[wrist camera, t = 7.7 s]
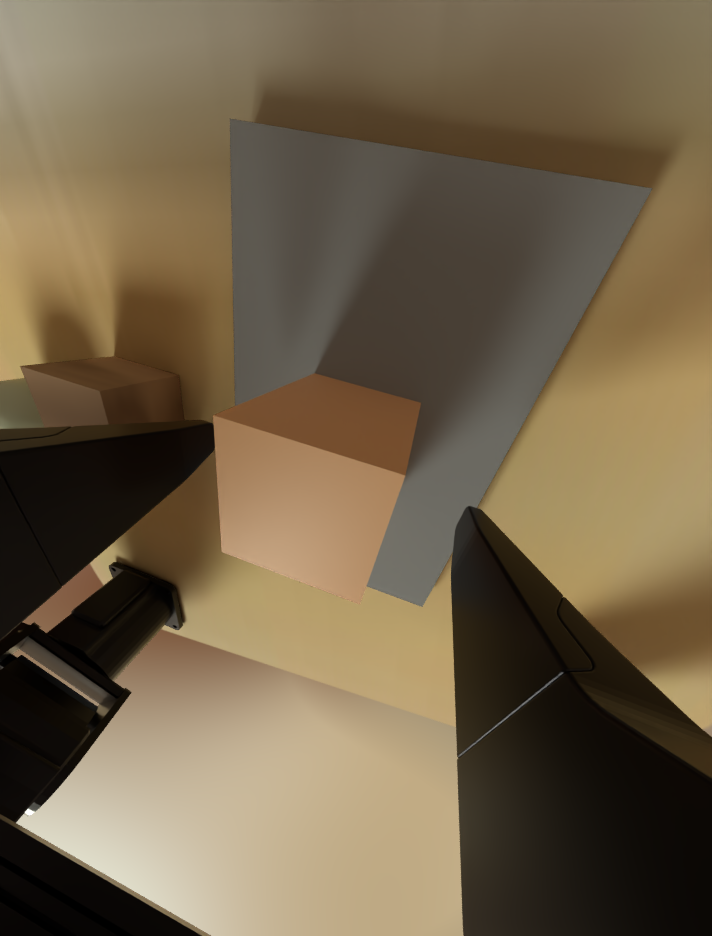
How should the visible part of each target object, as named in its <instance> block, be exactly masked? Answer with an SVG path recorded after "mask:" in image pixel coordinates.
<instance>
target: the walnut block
mask: <svg viewBox="0 0 712 936" xmlns="http://www.w3.org/2000/svg"><path fill="white" fill-rule="evenodd" d="M20 367H21V370H22V372H23V375H24V377H25V380H26V382H27V385H28V387H29V390H30V392H31V395H32V397H33V400H34V402H35V405H36V407H37V410H38V412H39V415H40V417H41V420H42V422H43V425H44V427H64V426H71V427H73V426H85V425H106V424H127V423H148V422H169V421H184V413H183V405H182V397H181V389H180V381H179V375H176V374H173V373H169V372H166V371H163V370H159V369H156V368H152V367H149V366H145V365H142V364H139V363H135V362H132V361H128V360H125V359H121V358H118V357H115V356H113V357H104V358H94V359H84V360H75V361H65V362H55V363H45V364H36V365H26V366H20Z"/></svg>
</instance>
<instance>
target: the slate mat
mask: <svg viewBox="0 0 712 936" xmlns="http://www.w3.org/2000/svg"><path fill="white" fill-rule="evenodd" d="M230 154H231V209H232V264H233V318H234V373H235V406H237V405H239V404H242V403H244V402H246V401H249V400H251V399H254V398H256V397H258V396H261V395H263V394H266V393H268V392H270V391H273V390H275V389H278V388H280V387H283V386H285V385H287V384H290V383H292V382H295V381H297V380H299V379H302V378H304V377H307V376H309V375H311V374H314V373H315V374H319V375H323V376H326V377H330V378H333V379H337V380H341V381H344V382H348V383H351V384H355V385H359V386H362V387H366V388H369V389H373V390H377V391H380V392H384V393H387V394H391V395H395V396H398V397H402V398H405V399H409V400H413V401H416V402H420V403H421V405H420V410H419V415H418V419H417V424H416V429H415V433H414V438H413V442H412V447H411V452H410V456H409V461H408V466H407V470H406V475H405V478H404V481H403V484H402V487H401V489H400V492H399V495H398V498H397V501H396V504H395V507H394V509H393V512H392V515H391V518H390V521H389V524H388V526H387V529H386V532H385V535H384V538H383V541H382V544H381V546H380V549H379V552H378V555H377V558H376V561H375V563H374V566H373V569H372V572H371V575H370V578H369V581H368V583H367V586H368V587H370V588H373V589H376V590H378V591H381V592H384V593H386V594H389V595H392V596H394V597H397V598H400V599H402V600H405V601H408V602H411V603H413V604H416V605H419V606H421V607H423V605H424V603H425V601H426V599H427V597H428V596H429V594H430V592H431V590H432V588H433V587H434V585H435V583H436V581H437V579H438V577H439V576H440V574H441V572H442V570H443V568H444V567H445V565H446V563H447V561H448V559H449V557H450V556H451V554H452V552H453V545H454V534H455V528H456V525H457V523H458V521H459V520H460V518H461V516H462V514H463V512H464V510H465V508H466V507H467V506H472V507H475V508H477V507H478V505H479V503H480V501H481V499H482V497H483V496H484V494H485V492H486V490H487V488H488V487H489V485H490V483H491V481H492V479H493V477H494V476H495V474H496V472H497V470H498V468H499V467H500V465H501V463H502V461H503V459H504V457H505V456H506V454H507V452H508V450H509V448H510V447H511V445H512V443H513V441H514V439H515V437H516V436H517V434H518V432H519V430H520V428H521V427H522V425H523V423H524V421H525V419H526V418H527V416H528V414H529V412H530V410H531V408H532V407H533V405H534V403H535V401H536V399H537V398H538V396H539V394H540V392H541V390H542V388H543V387H544V385H545V383H546V381H547V379H548V378H549V376H550V374H551V372H552V370H553V368H554V367H555V365H556V363H557V361H558V359H559V358H560V356H561V354H562V352H563V350H564V348H565V347H566V345H567V343H568V341H569V339H570V338H571V336H572V334H573V332H574V330H575V328H576V327H577V325H578V323H579V321H580V319H581V318H582V316H583V314H584V312H585V310H586V308H587V307H588V305H589V303H590V301H591V299H592V298H593V296H594V294H595V292H596V290H597V288H598V287H599V285H600V283H601V281H602V279H603V278H604V276H605V274H606V272H607V270H608V268H609V267H610V265H611V263H612V261H613V259H614V258H615V256H616V254H617V252H618V250H619V248H620V247H621V245H622V243H623V241H624V239H625V238H626V236H627V234H628V232H629V230H630V229H631V227H632V225H633V223H634V221H635V219H636V218H637V216H638V214H639V212H640V210H641V209H642V207H643V205H644V203H645V201H646V199H647V198H648V196H649V194H650V192H651V190H652V189H653V188H647V187H641V186H635V185H629V184H623V183H617V182H611V181H605V180H599V179H592V178H586V177H580V176H574V175H568V174H562V173H556V172H550V171H544V170H538V169H532V168H526V167H520V166H514V165H508V164H502V163H496V162H490V161H483V160H477V159H471V158H465V157H459V156H453V155H447V154H441V153H435V152H429V151H423V150H417V149H411V148H405V147H399V146H393V145H387V144H381V143H374V142H368V141H362V140H356V139H350V138H344V137H338V136H332V135H326V134H320V133H314V132H308V131H302V130H296V129H290V128H284V127H278V126H272V125H266V124H259V123H253V122H247V121H241V120H235V119H230Z"/></svg>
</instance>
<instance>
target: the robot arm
mask: <svg viewBox="0 0 712 936" xmlns="http://www.w3.org/2000/svg"><path fill="white" fill-rule="evenodd" d="M214 449H215V438H214V425H213V424H212V423H210V422H207V421H204V420H190V421H169V422H148V423H127V424H106V425H85V426H73V427H71V426H64V427H40V428H9V429H0V936H211V935H209V934H207V933H205V932H204V931H202V930H200V929H198V928H197V927H195V926H193V925H191V924H190V923H188V922H186V921H185V920H183V919H181V918H179V917H178V916H176V915H174V914H172V913H171V912H169V911H167V910H166V909H164V908H162V907H160V906H159V905H157V904H155V903H153V902H152V901H150V900H148V899H146V898H145V897H143V896H141V895H139V894H138V893H136V892H134V891H132V890H131V889H129V888H127V887H126V886H124V885H122V884H120V883H119V882H117V881H115V880H114V879H112V878H110V877H108V876H107V875H105V874H103V873H101V872H100V871H98V870H96V869H94V868H93V867H91V866H89V865H88V864H86V863H84V862H82V861H81V860H79V859H77V858H75V857H74V856H72V855H70V854H68V853H67V852H65V851H63V850H61V849H60V848H58V847H56V846H55V845H53V844H51V843H49V842H48V841H46V840H44V839H42V838H41V837H39V836H37V835H35V834H34V833H32V832H30V831H29V830H27V829H25V828H23V827H22V826H20V825H18V824H16V822H17V821H18V820H19V818H20V817H21V816H22V815H23V814H25V815H27V816H30V815H32V814H33V813H34V812H35V811H36V810H37V809H39V808H40V807H41V806H42V805H43V804H44V803H45V802H46V801H47V800H48V799H49V797H50V796H51V795H52V794H53V793H54V792H55V791H56V790H57V789H58V788H59V786H60V785H61V784H62V783H63V782H64V781H65V779H66V778H67V777H68V776H69V775H70V773H71V772H72V771H73V770H74V768H75V767H76V766H77V764H78V763H79V762H80V761H81V759H82V758H83V756H84V755H85V754H86V753H87V751H88V750H89V749H90V747H91V746H92V745H93V743H94V742H95V741H96V739H97V738H98V737H99V735H100V734H101V733H102V731H103V730H104V729H105V727H106V726H107V725H108V723H109V722H110V721H111V719H112V718H113V717H114V715H115V714H116V713H117V711H118V710H119V709H120V707H121V706H122V704H123V703H124V702H125V700H126V699H127V698H128V697H129V695H130V694H131V692H130V691H129V690H128V689H126V688H125V689H124V688H122V687H121V686H119V685H118V684H116V683H115V682H114V680H115V679H116V678H117V677H118V676H119V675H120V674H121V673H122V672H123V670H124V669H125V668H126V667H127V666H128V665H129V664H130V663H131V661H132V660H133V659H134V658H135V657H136V656H137V655H138V654H139V653H140V651H141V650H142V649H143V648H144V647H145V646H146V645H147V644H148V643H149V642H150V640H151V639H152V638H153V637H154V636H155V635H156V634H157V633H158V632H159V631H160V629H161V628H162V627H163V626H164V625H166V626H169V627H171V628H173V629H176V630H179V629H180V628H181V627H182V626H183V623H182V618H181V613H180V608H179V603H178V599H177V594H176V589H175V588H174V587H173V586H172V585H171V584H168V583H166V582H163V581H161V580H158V579H156V578H154V577H151V576H149V575H146V574H144V573H141V572H139V571H136V570H134V569H132V568H129V567H127V566H124V565H122V564H119V563H117V562H113V563H112V564H111V565H109V569H110V572H111V575H112V577H113V579H111V580H110V581H109V582H108V583H106V584H105V585H104V586H103V587H101V588H100V589H99V590H97V591H96V592H95V593H94V594H92V595H91V596H90V597H88V598H87V599H86V600H85V601H84V602H82V603H81V604H80V605H78V606H77V607H76V608H75V609H73V610H72V613H71V614H70V615H69V616H68V617H66V618H65V619H64V620H63V621H61V622H60V623H59V624H58V625H56V626H55V627H54V628H53V629H51V630H50V631H49V632H48V633H45V632H44V631H42V630H41V629H40V626H39V625H37V624H36V623H32V624H31V625H28V624H25V623H22V621H24V620H25V619H26V618H27V617H28V616H29V615H31V614H32V613H33V612H34V611H35V610H36V609H37V608H39V607H40V606H41V605H42V604H43V603H44V602H46V601H47V600H48V599H49V598H50V597H51V596H53V595H54V594H55V593H56V592H57V591H58V590H59V589H61V587H62V586H63V585H65V584H66V583H67V582H68V581H69V580H71V579H72V578H73V577H74V576H75V575H76V574H78V573H79V572H80V571H81V570H82V569H83V568H84V567H86V566H87V565H88V564H89V563H90V562H92V561H93V560H94V559H95V558H96V557H97V556H98V555H100V554H101V553H102V552H103V551H104V550H105V549H107V548H108V547H109V546H110V545H111V544H112V543H114V542H115V541H116V540H117V539H118V538H119V537H120V536H122V535H123V534H124V533H125V532H126V531H127V530H129V529H130V528H131V527H132V526H133V525H134V524H136V523H137V522H138V521H139V520H140V519H141V518H142V517H144V516H145V515H146V514H147V513H148V512H149V511H151V510H152V509H153V508H154V507H155V506H156V505H158V504H159V503H160V502H161V501H162V500H163V499H165V498H166V497H167V496H168V495H169V494H170V493H171V492H173V491H174V490H175V489H176V488H177V487H178V486H180V485H181V484H182V483H183V482H184V481H185V480H186V479H187V478H188V477H189V476H190V475H191V474H192V473H193V472H194V471H195V470H196V469H197V468H198V467H199V466H200V465H201V464H202V463H203V461H204V460H205V459H206V458H207V457H208V456H209V455H210V454H211V453H212V452H213V451H214ZM451 593H452V622H453V650H454V679H455V707H456V734H457V757H458V759H457V769H458V800H459V828H460V857H461V886H462V914H463V935H464V936H712V737H711V736H710V735H709V734H707V733H706V732H705V731H704V730H702V729H701V728H700V727H699V726H698V725H697V724H696V723H694V722H693V721H692V720H691V719H690V718H689V717H688V716H687V715H686V714H685V713H684V712H682V711H681V710H680V709H679V708H678V707H677V706H676V705H675V704H674V703H673V702H672V701H671V700H670V699H669V698H668V697H667V696H666V695H664V694H663V693H662V692H661V691H660V690H659V689H658V688H657V687H656V686H655V685H654V684H653V683H652V682H651V681H650V680H649V679H648V678H647V677H645V676H644V675H643V674H642V673H641V672H640V671H639V670H638V669H637V668H636V667H635V666H634V665H633V664H632V663H631V662H630V661H629V660H628V659H626V658H625V657H624V656H623V655H622V654H621V653H620V652H619V651H618V650H617V649H616V648H615V647H614V646H613V645H612V644H611V643H610V642H609V641H608V640H607V639H606V638H605V637H604V636H603V635H601V634H600V633H599V632H598V631H597V630H596V629H595V628H594V627H593V626H592V625H591V624H590V623H589V622H588V621H587V619H586V618H585V617H584V616H583V615H582V614H581V613H580V612H579V611H578V610H577V609H576V608H575V607H574V606H573V605H572V604H571V603H570V602H569V601H568V600H567V599H566V598H565V597H563V595H562V594H561V593H560V592H559V590H558V589H557V588H556V587H555V586H554V585H553V584H552V583H551V582H550V581H549V580H548V579H547V578H546V577H545V576H544V575H543V574H542V573H541V572H540V571H539V570H538V568H537V567H536V566H535V565H534V564H533V563H532V562H531V561H530V560H529V559H528V558H527V557H526V556H525V555H524V554H523V553H522V552H521V551H520V550H519V549H518V548H517V546H516V545H515V544H514V543H513V542H512V541H511V540H510V539H509V538H508V537H507V536H506V535H505V534H504V533H503V532H502V531H501V530H500V529H499V528H498V527H497V526H496V524H495V523H494V522H493V521H492V520H491V519H490V518H489V517H488V516H487V515H486V514H485V513H484V512H483V511H482V510H481V509H478V508H475V507H472V506H467V507H466V508H465V510H464V512H463V514H462V516H461V518H460V520H459V521H458V523H457V525H456V528H455V534H454V545H453V555H452V566H451ZM562 597H563V598H562ZM19 649H20V650H22V651H23V652H25V653H26V654H28V655H29V656H30V657H32V658H34V659H35V660H36V661H38V662H39V663H41V664H42V665H44V666H45V667H46V668H48V669H49V670H51V671H52V672H54V673H55V674H57V675H58V676H60V677H61V678H62V679H64V680H65V681H67V682H68V683H70V684H71V685H73V686H74V687H76V688H77V689H78V690H80V691H81V692H83V693H84V694H86V695H87V696H89V697H90V698H92V699H93V700H95V701H96V702H97V703H99V706H96V705H94V704H93V703H91V702H89V701H88V700H87V699H85V698H84V697H83V696H81V695H79V694H78V693H77V692H75V691H74V690H72V689H71V688H69V687H68V686H66V685H65V684H63V683H62V682H61V681H59V680H58V679H56V678H55V677H53V676H52V675H50V674H49V673H47V672H46V671H44V670H43V669H42V668H40V667H39V666H37V665H36V664H34V663H33V662H31V661H30V660H28V659H27V658H26V657H24V656H23V655H21V656H19V657H18V658H17V657H15V656H14V655H13V654H14V653H15V652H16V651H17V650H19Z"/></svg>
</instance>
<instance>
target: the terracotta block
mask: <svg viewBox="0 0 712 936" xmlns="http://www.w3.org/2000/svg"><path fill="white" fill-rule="evenodd" d="M420 405H421V403H420V402H416V401H413V400H409V399H405V398H402V397H398V396H395V395H391V394H387V393H384V392H380V391H377V390H373V389H369V388H366V387H362V386H359V385H355V384H351V383H348V382H344V381H341V380H337V379H333V378H330V377H326V376H323V375H319V374H315V373H314V374H311V375H309V376H307V377H304V378H302V379H299V380H297V381H295V382H292V383H290V384H287V385H285V386H283V387H280V388H278V389H275V390H273V391H270V392H268V393H266V394H263V395H261V396H258V397H256V398H254V399H251V400H249V401H246V402H244V403H242V404H239V405H237V406H234V407H232V408H229V409H227V410H225V411H222V412H220V413H217V414H215V415H213V422H214V438H215V454H216V470H217V485H218V501H219V517H220V533H221V549H222V552H223V553H226V554H228V555H231V556H234V557H236V558H239V559H242V560H244V561H247V562H249V563H252V564H255V565H257V566H260V567H263V568H265V569H268V570H270V571H273V572H276V573H278V574H281V575H284V576H286V577H289V578H291V579H294V580H297V581H299V582H302V583H305V584H307V585H310V586H312V587H315V588H318V589H320V590H323V591H326V592H328V593H331V594H334V595H336V596H339V597H341V598H344V599H347V600H349V601H352V602H355V603H357V604H360V603H361V600H362V598H363V595H364V592H365V589H366V586H367V583H368V581H369V578H370V575H371V572H372V569H373V566H374V563H375V561H376V558H377V555H378V552H379V549H380V546H381V544H382V541H383V538H384V535H385V532H386V529H387V526H388V524H389V521H390V518H391V515H392V512H393V509H394V507H395V504H396V501H397V498H398V495H399V492H400V489H401V487H402V484H403V481H404V478H405V475H406V470H407V466H408V461H409V456H410V452H411V447H412V442H413V438H414V433H415V429H416V424H417V419H418V415H419V410H420Z"/></svg>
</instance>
